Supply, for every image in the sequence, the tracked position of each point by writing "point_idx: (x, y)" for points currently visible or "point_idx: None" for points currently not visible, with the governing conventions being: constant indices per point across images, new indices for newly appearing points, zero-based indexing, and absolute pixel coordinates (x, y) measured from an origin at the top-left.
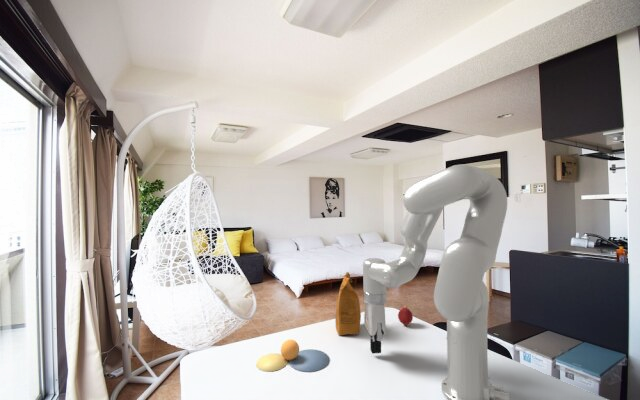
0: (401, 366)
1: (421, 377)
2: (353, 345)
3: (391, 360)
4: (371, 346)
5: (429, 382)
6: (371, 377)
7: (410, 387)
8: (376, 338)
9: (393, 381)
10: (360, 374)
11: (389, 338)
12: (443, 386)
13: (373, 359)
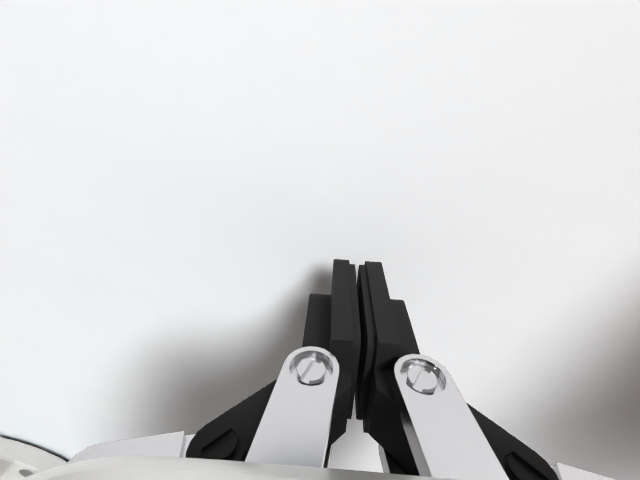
0: (211, 372)
1: (111, 412)
2: (625, 129)
3: (283, 348)
4: (338, 294)
5: (74, 423)
6: (52, 148)
7: (6, 340)
8: (193, 450)
9: (40, 280)
10: (77, 57)
11: (569, 429)
12: (2, 462)
13: (312, 242)
